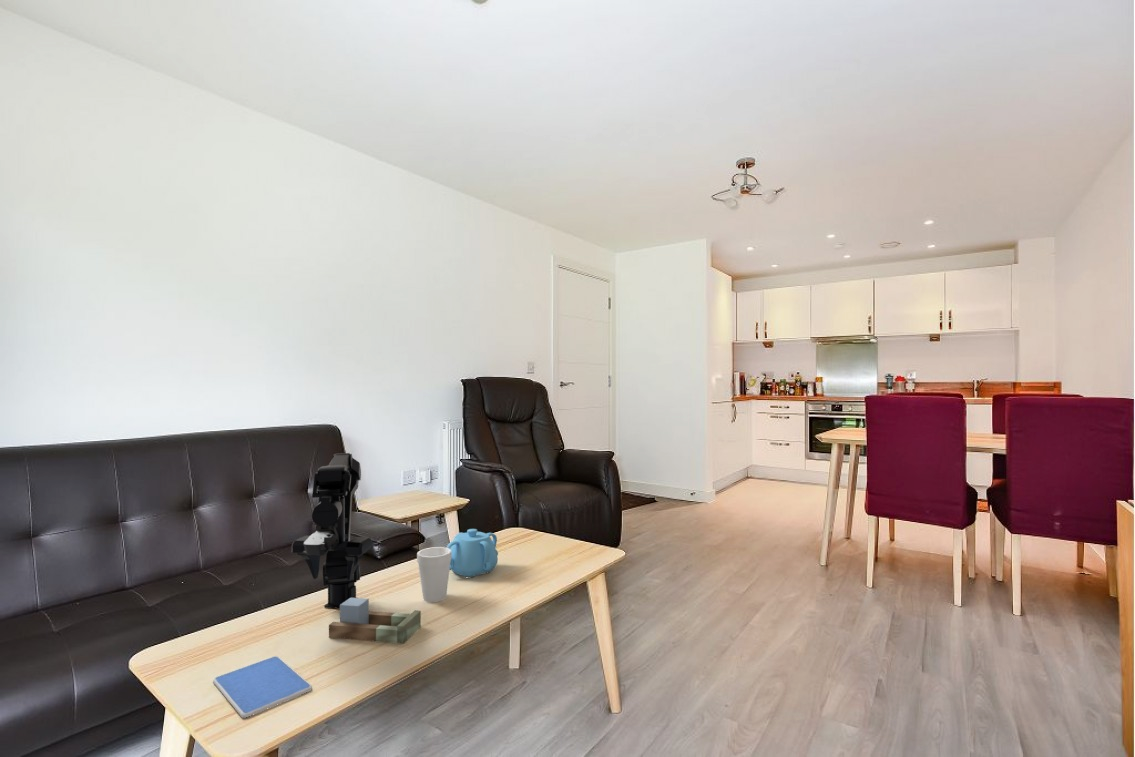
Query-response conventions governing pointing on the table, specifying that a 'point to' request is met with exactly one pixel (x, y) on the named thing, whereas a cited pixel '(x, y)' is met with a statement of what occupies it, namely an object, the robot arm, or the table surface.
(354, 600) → the block
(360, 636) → the u-shaped frame
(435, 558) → the foam cup
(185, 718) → the table surface
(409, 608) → the table surface
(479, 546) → the decorative pot
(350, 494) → the robot arm
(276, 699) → the tablet computer
